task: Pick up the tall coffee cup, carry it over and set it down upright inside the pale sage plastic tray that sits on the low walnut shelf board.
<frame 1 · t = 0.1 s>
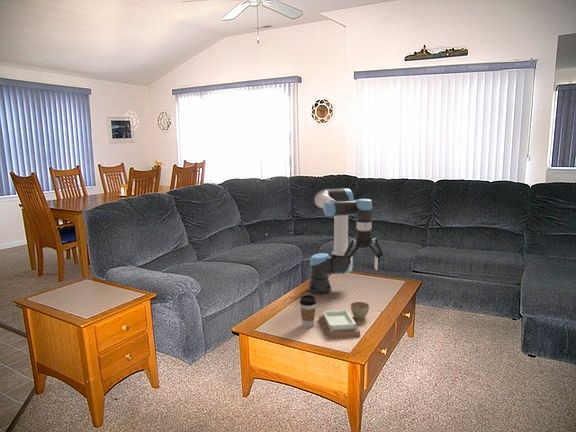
hand: (363, 269, 219), 28 cm above the table, fingers open, 13 cm apart
shelf board: (338, 327, 216), on the table
coffee cup: (308, 325, 220), on the table
tray: (338, 322, 216), resting on shelf board
flower pot: (359, 318, 228), on the table
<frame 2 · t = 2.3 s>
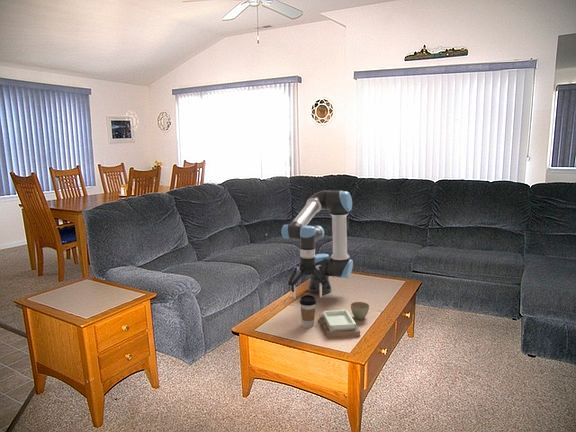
hand: (307, 297, 217), 15 cm above the table, fingers open, 13 cm apart
nothing on the table moved.
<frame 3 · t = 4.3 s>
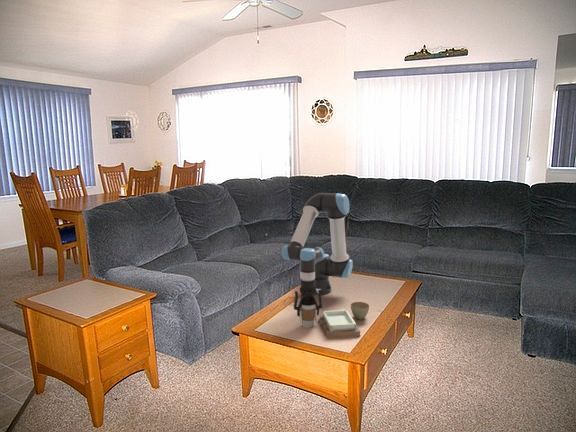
hand: (308, 321, 219), 2 cm above the table, fingers closed on coffee cup, 7 cm apart
coffee cup: (308, 325, 220), on the table, touching gripper
everything else where it was.
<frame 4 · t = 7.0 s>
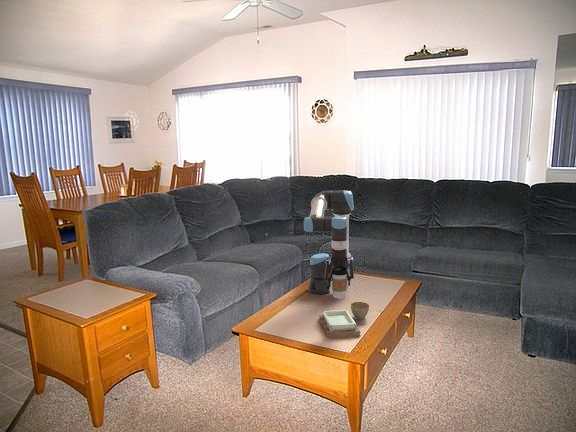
hand: (338, 292, 213), 19 cm above the table, fingers closed on coffee cup, 7 cm apart
coffee cup: (338, 296, 214), point 16 cm above the table, touching gripper
everything else where it was.
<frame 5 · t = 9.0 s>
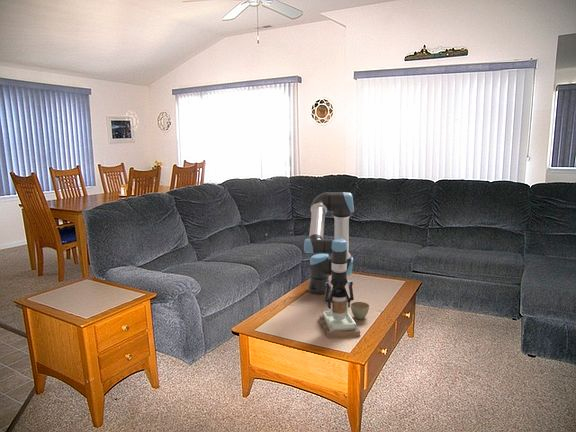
hand: (338, 313, 215), 7 cm above the table, fingers closed on coffee cup, 7 cm apart
coffee cup: (338, 318, 216), point 5 cm above the table, touching gripper
everything else where it was.
when the fingers open (7 cm above the table, at t = 9.9 s): coffee cup drops 1 cm, resting on tray.
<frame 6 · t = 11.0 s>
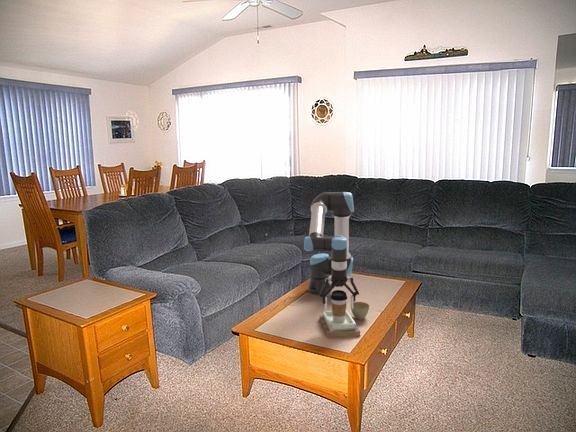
hand: (338, 308, 215), 10 cm above the table, fingers open, 13 cm apart
coffee cup: (338, 321, 216), point 3 cm above the table, touching tray
everything else where it was.
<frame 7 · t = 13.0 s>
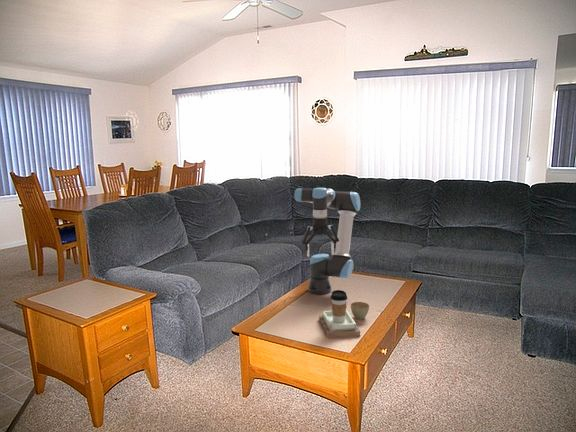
hand: (320, 255, 230), 33 cm above the table, fingers open, 13 cm apart
nothing on the table moved.
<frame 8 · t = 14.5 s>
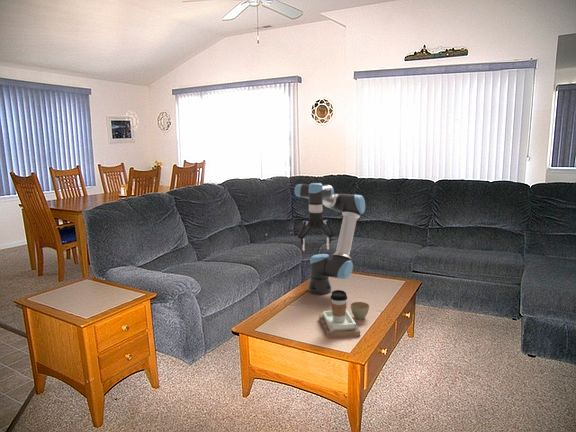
hand: (315, 249, 234), 35 cm above the table, fingers open, 13 cm apart
nothing on the table moved.
at the end: coffee cup inside the target area on the tray (0.2 cm from its centre), point 0.8 cm above the tray's base; coffee cup tilted 0°; coffee cup touching tray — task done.
